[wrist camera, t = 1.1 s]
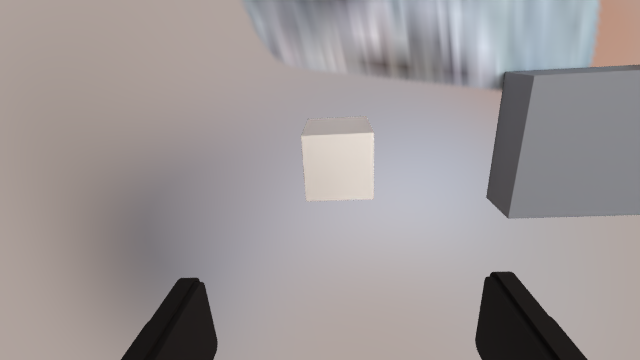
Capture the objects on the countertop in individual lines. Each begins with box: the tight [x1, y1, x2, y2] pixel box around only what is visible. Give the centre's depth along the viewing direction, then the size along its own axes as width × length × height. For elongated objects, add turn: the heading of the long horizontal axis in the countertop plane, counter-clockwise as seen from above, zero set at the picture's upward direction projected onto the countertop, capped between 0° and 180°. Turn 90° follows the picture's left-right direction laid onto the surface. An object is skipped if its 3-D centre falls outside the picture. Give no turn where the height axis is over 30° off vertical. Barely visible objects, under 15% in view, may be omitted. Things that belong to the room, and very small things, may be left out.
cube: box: [301, 116, 374, 201], centre depth 26 cm, size 5×5×6 cm
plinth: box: [487, 65, 640, 218], centre depth 25 cm, size 11×11×4 cm
